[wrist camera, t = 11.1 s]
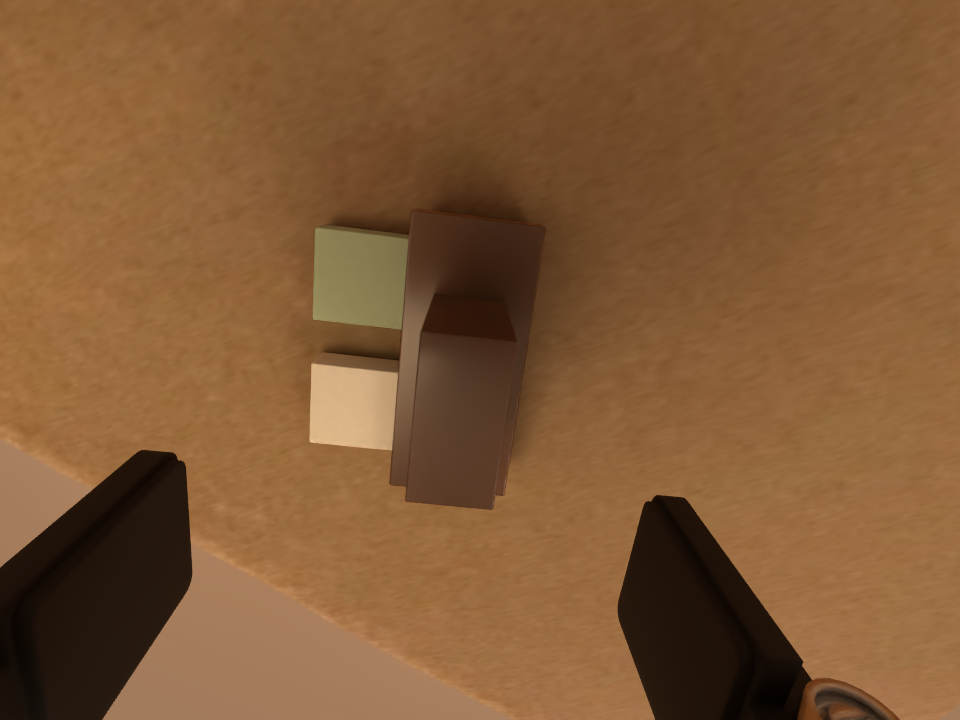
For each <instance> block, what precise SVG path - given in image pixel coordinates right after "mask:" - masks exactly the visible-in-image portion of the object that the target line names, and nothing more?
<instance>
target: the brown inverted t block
mask: <svg viewBox="0 0 960 720" xmlns="http://www.w3.org/2000/svg"><path fill="white" fill-rule="evenodd" d="M545 231H546V227H545V226H543V225H540V224H534V223H526V222H518V221H510V220H502V219H494V218H486V217H478V216H470V215H462V214H454V213H446V212H438V211H431V210H423V209H414V210H411V213H410V226H409V239H408V251H407V264H406V277H405V290H404V303H403V316H402V328H401V341H400V354H399V367H398V380H397V393H396V406H395V418H394V431H393V444H392V457H391V470H390V485H395V486H405V487H406V497H405V501H406V502H414V503H425V504H435V505H446V506H457V507H467V508H478V509H488V510H493V507H494V501H495V495H499V496H504V494H505V487H506V481H507V475H508V468H509V462H510V455H511V449H512V443H513V436H514V430H515V423H516V417H517V411H518V404H519V398H520V391H521V385H522V379H523V372H524V366H525V359H526V353H527V347H528V340H529V334H530V327H531V321H532V314H533V308H534V302H535V295H536V289H537V282H538V276H539V270H540V263H541V257H542V250H543V244H544V238H545Z"/></svg>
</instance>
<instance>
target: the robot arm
mask: <svg viewBox="0 0 960 720" xmlns="http://www.w3.org/2000/svg"><path fill="white" fill-rule="evenodd" d="M191 579H192V559H191V541H190V525H189V509H188V493H187V477H186V466H185V463H184V462H183V461H178V459H177V456H176V454H174V453H172V452H160V451H149V450H141V451H139V452H137V453H136V454H135V455H133V456H132V457H131V458H130V459H129V460H128V461H126V462H125V463H124V464H123V465H122V466H120V467H119V468H118V469H117V470H116V471H114V472H113V473H112V474H111V475H110V476H109V477H107V478H106V479H105V480H104V481H103V482H101V483H100V484H99V485H98V486H97V487H95V488H94V489H93V490H92V491H91V492H90V493H88V494H87V495H86V496H85V497H84V498H82V499H81V500H80V501H79V502H78V503H77V504H75V505H74V506H73V507H72V508H70V509H69V510H68V511H67V512H66V513H65V514H63V515H62V516H61V517H60V518H59V519H57V520H56V521H55V522H54V523H53V524H52V525H50V526H49V527H48V528H47V529H46V530H45V531H43V532H42V533H41V534H40V535H38V536H37V537H36V538H35V539H34V540H32V541H31V542H30V543H29V544H28V545H27V546H25V547H24V548H23V549H22V550H21V551H19V552H18V553H17V554H16V555H15V556H13V557H12V558H11V559H10V560H9V561H7V562H6V563H5V564H4V565H3V566H2V567H1V568H0V720H102V719H103V717H104V716H105V714H106V713H107V711H108V710H109V708H110V707H111V705H112V704H113V702H114V701H115V699H116V698H117V696H118V695H119V693H120V692H121V690H122V689H123V687H124V686H125V684H126V683H127V681H128V680H129V678H130V677H131V675H132V674H133V672H134V671H135V669H136V668H137V666H138V665H139V663H140V662H141V660H142V659H143V657H144V655H145V654H146V653H147V651H148V650H149V648H150V647H151V645H152V644H153V642H154V640H155V639H156V637H157V636H158V634H159V633H160V631H161V630H162V628H163V627H164V625H165V624H166V622H167V621H168V619H169V618H170V616H171V615H172V613H173V612H174V610H175V609H176V607H177V606H178V604H179V603H180V601H181V600H182V598H183V596H184V595H185V593H186V592H187V590H188V588H189V586H190V583H191ZM618 618H619V622H620V625H621V627H622V630H623V633H624V635H625V638H626V641H627V644H628V646H629V649H630V652H631V654H632V657H633V660H634V663H635V665H636V668H637V671H638V674H639V676H640V679H641V682H642V684H643V687H644V690H645V693H646V695H647V698H648V701H649V703H650V706H651V709H652V712H653V714H654V717H655V720H900V719H899V718H898V717H897V716H896V715H895V714H894V713H893V712H892V711H891V710H889V709H888V708H887V707H886V706H885V705H883V704H882V703H881V702H880V701H879V700H877V699H875V698H874V697H872V696H871V695H869V694H868V693H866V692H864V691H863V690H861V689H859V688H857V687H854V686H852V685H850V684H848V683H845V682H842V681H838V680H834V679H830V678H820V679H815V680H813V681H812V679H811V678H810V676H809V675H808V674H807V672H806V671H805V669H804V668H803V667H802V664H803V661H802V659H801V658H800V657H799V655H798V654H797V652H796V651H795V650H794V648H793V647H792V645H791V644H790V643H789V641H788V640H787V638H786V637H785V636H784V634H783V633H782V632H781V630H780V629H779V627H778V626H777V625H776V623H775V622H774V620H773V619H772V618H771V616H770V615H769V614H768V612H767V611H766V609H765V608H764V607H763V605H762V604H761V602H760V601H759V600H758V598H757V597H756V595H755V594H754V593H753V591H752V590H751V589H750V587H749V586H748V584H747V583H746V582H745V580H744V579H743V577H742V576H741V575H740V573H739V572H738V570H737V569H736V568H735V566H734V565H733V564H732V562H731V561H730V559H729V558H728V557H727V555H726V554H725V552H724V551H723V550H722V548H721V547H720V546H719V544H718V543H717V541H716V540H715V539H714V537H713V536H712V534H711V533H710V532H709V530H708V529H707V527H706V526H705V525H704V523H703V522H702V521H701V519H700V518H699V516H698V515H697V514H696V512H695V511H694V509H693V508H692V507H691V505H690V504H689V503H688V501H687V500H686V499H685V498H682V497H673V496H661V495H657V496H655V497H654V498H653V499H652V502H650V501H647V502H646V503H645V504H644V506H643V510H642V514H641V517H640V521H639V525H638V529H637V533H636V536H635V540H634V544H633V548H632V552H631V555H630V559H629V563H628V567H627V571H626V574H625V578H624V582H623V586H622V590H621V593H620V597H619V601H618Z"/></svg>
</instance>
